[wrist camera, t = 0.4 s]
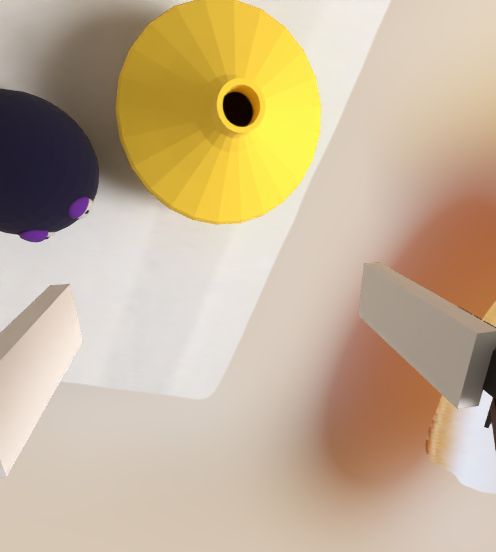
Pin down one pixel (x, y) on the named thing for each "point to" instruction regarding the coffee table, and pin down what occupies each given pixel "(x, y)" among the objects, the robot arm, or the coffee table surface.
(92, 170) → the toy
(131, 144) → the vase
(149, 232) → the coffee table surface
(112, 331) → the coffee table surface
